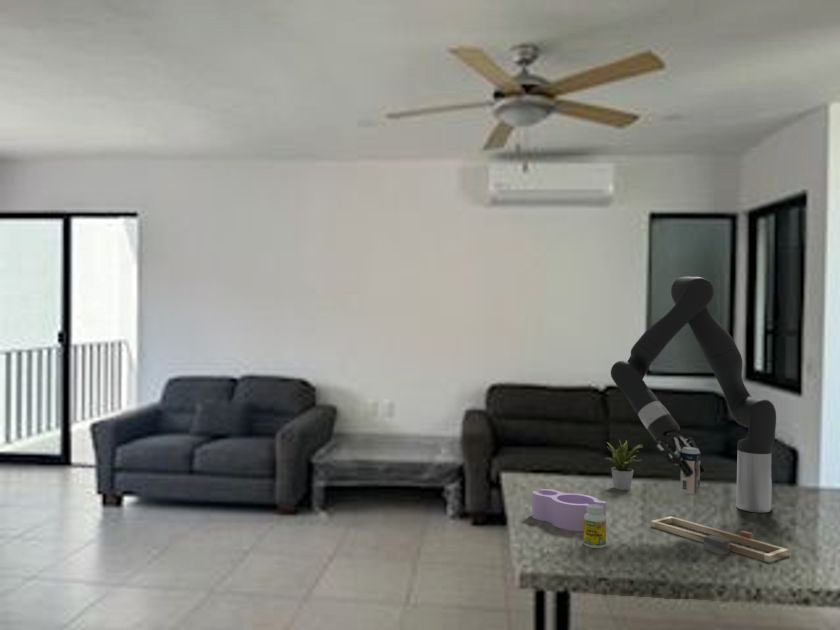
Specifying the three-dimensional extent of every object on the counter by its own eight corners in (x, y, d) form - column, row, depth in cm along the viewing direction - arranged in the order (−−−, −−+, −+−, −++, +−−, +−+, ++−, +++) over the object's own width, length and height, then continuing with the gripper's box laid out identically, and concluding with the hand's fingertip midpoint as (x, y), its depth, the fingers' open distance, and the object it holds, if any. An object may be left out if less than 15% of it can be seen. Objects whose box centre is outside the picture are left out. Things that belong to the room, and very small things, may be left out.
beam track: (674, 520, 192) (674, 509, 192) (792, 554, 165) (792, 542, 165) (639, 529, 183) (639, 517, 183) (758, 566, 156) (758, 553, 156)
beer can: (701, 496, 178) (702, 450, 178) (681, 495, 179) (682, 449, 179) (697, 492, 183) (698, 447, 183) (678, 490, 184) (679, 446, 184)
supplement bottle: (606, 543, 171) (607, 504, 171) (605, 549, 165) (606, 510, 166) (584, 540, 172) (584, 502, 172) (582, 547, 167) (583, 507, 167)
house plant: (652, 495, 220) (653, 443, 220) (609, 493, 221) (610, 442, 221) (639, 484, 235) (640, 436, 235) (598, 483, 235) (599, 435, 235)
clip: (523, 518, 191) (523, 493, 191) (548, 510, 200) (549, 486, 200) (586, 535, 177) (586, 508, 177) (611, 526, 186) (611, 500, 186)
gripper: (650, 414, 183) (689, 468, 173) (683, 411, 191) (722, 462, 182) (633, 431, 188) (670, 485, 178) (666, 427, 196) (703, 478, 186)
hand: (696, 473), depth 180 cm, fingers closed on beer can, 4 cm apart
